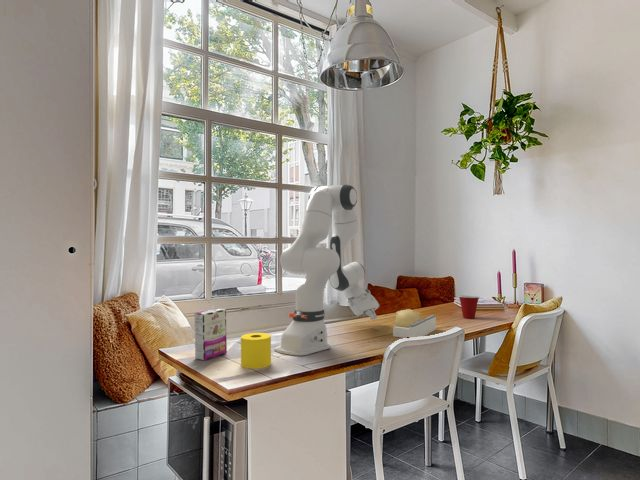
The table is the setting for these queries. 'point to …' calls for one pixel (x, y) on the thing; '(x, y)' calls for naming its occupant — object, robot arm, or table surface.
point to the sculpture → (407, 318)
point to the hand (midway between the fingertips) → (375, 318)
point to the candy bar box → (210, 334)
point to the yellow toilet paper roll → (255, 350)
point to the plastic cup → (468, 306)
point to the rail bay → (416, 328)
